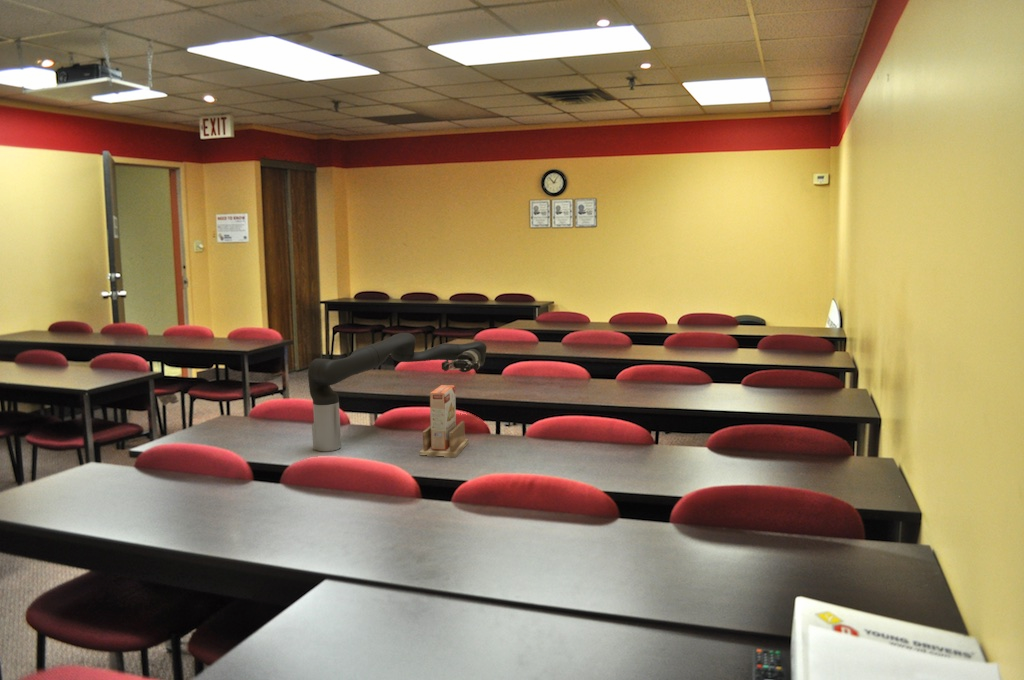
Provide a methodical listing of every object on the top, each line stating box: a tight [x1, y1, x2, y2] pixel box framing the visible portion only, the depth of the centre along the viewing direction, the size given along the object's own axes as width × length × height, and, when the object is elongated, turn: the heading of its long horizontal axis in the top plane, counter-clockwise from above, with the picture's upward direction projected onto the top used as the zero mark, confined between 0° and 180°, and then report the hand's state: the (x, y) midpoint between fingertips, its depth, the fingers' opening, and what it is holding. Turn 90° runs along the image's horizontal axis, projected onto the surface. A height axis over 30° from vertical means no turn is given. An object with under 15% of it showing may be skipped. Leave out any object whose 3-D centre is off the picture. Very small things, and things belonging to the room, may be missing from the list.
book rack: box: [419, 420, 469, 458], centre depth 280 cm, size 13×18×8 cm
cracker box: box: [429, 384, 457, 450], centre depth 279 cm, size 14×6×21 cm, turn 168°
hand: (455, 368), depth 292 cm, fingers open, 8 cm apart
